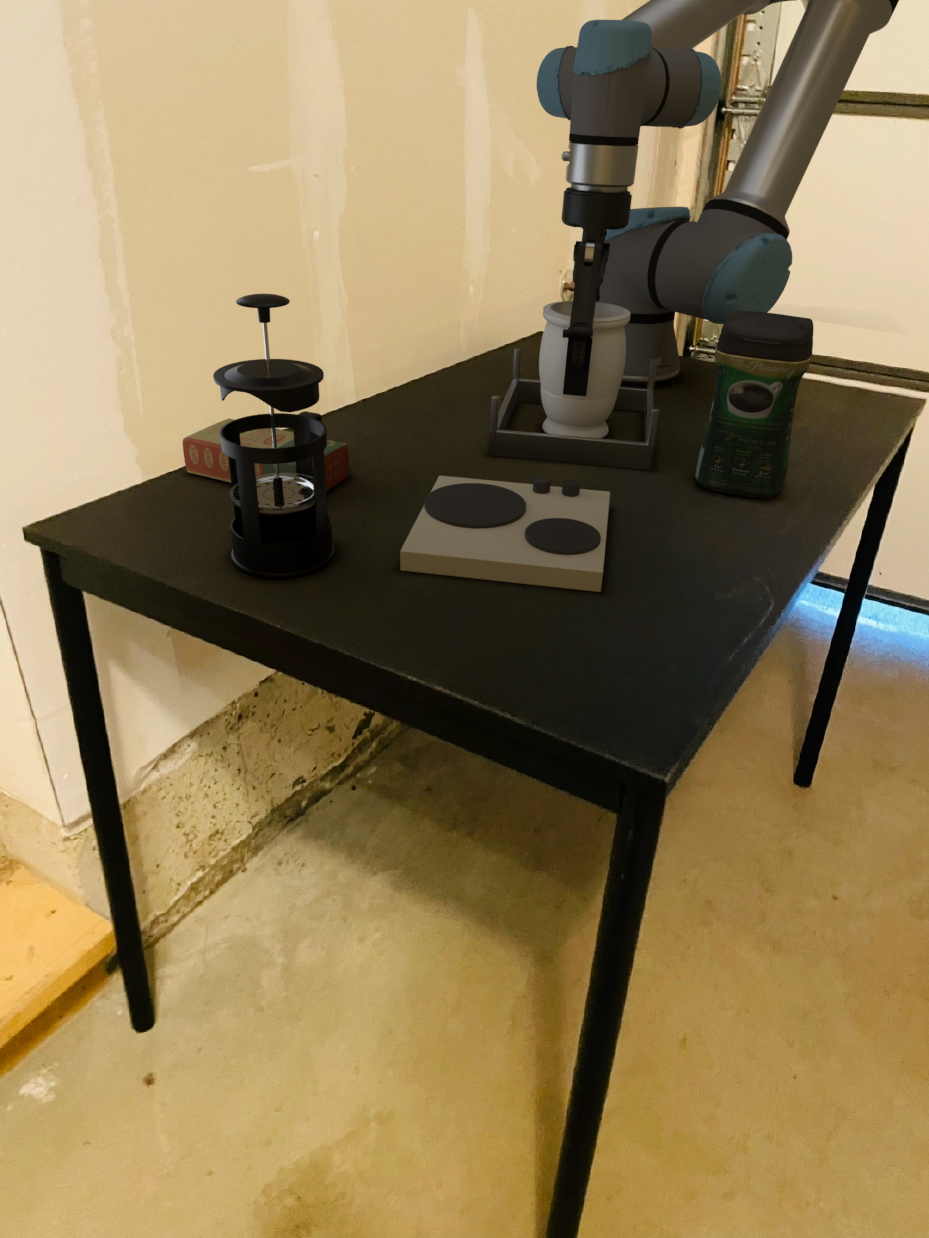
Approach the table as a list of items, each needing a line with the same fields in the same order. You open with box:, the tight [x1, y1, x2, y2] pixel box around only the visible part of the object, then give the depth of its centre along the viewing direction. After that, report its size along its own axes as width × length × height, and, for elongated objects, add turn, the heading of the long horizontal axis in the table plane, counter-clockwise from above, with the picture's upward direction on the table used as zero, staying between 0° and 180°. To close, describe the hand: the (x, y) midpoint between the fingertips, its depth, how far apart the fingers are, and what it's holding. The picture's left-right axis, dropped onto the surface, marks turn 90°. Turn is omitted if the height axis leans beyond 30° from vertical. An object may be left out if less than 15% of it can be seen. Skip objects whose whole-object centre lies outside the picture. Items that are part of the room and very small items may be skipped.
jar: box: [538, 300, 631, 439], centre depth 111 cm, size 11×10×15 cm
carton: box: [182, 418, 350, 492], centre depth 99 cm, size 8×16×4 cm, turn 65°
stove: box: [399, 475, 611, 593], centre depth 88 cm, size 18×18×3 cm
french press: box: [212, 293, 336, 580], centre depth 78 cm, size 12×9×23 cm
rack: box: [488, 347, 660, 471], centre depth 113 cm, size 22×19×7 cm
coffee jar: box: [694, 310, 814, 499], centre depth 97 cm, size 10×8×19 cm
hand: (578, 379), depth 111 cm, fingers open, 13 cm apart
